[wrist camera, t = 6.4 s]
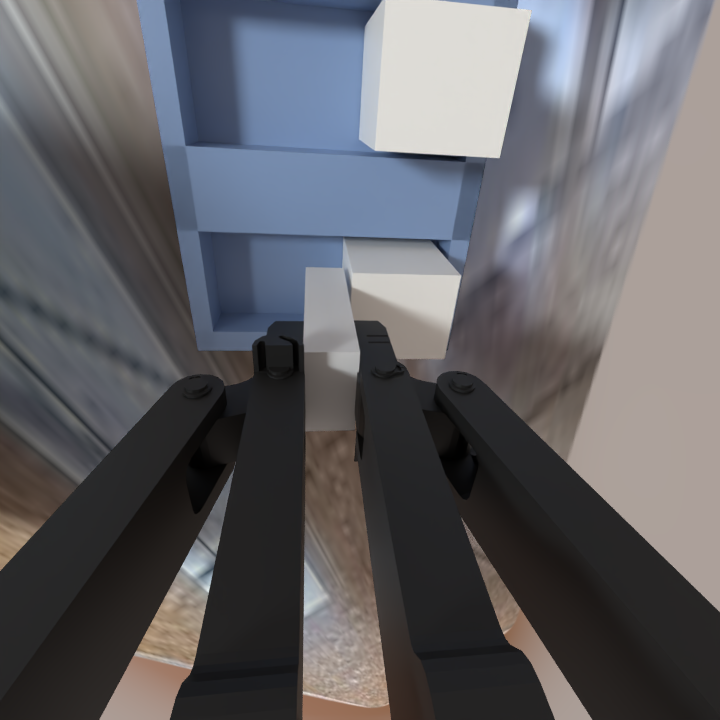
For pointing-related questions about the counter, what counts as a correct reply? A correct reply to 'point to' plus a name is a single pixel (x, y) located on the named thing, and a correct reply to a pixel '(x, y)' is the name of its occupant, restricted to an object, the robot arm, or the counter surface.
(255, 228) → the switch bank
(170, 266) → the counter surface
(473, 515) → the robot arm
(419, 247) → the white block
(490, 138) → the tab near
